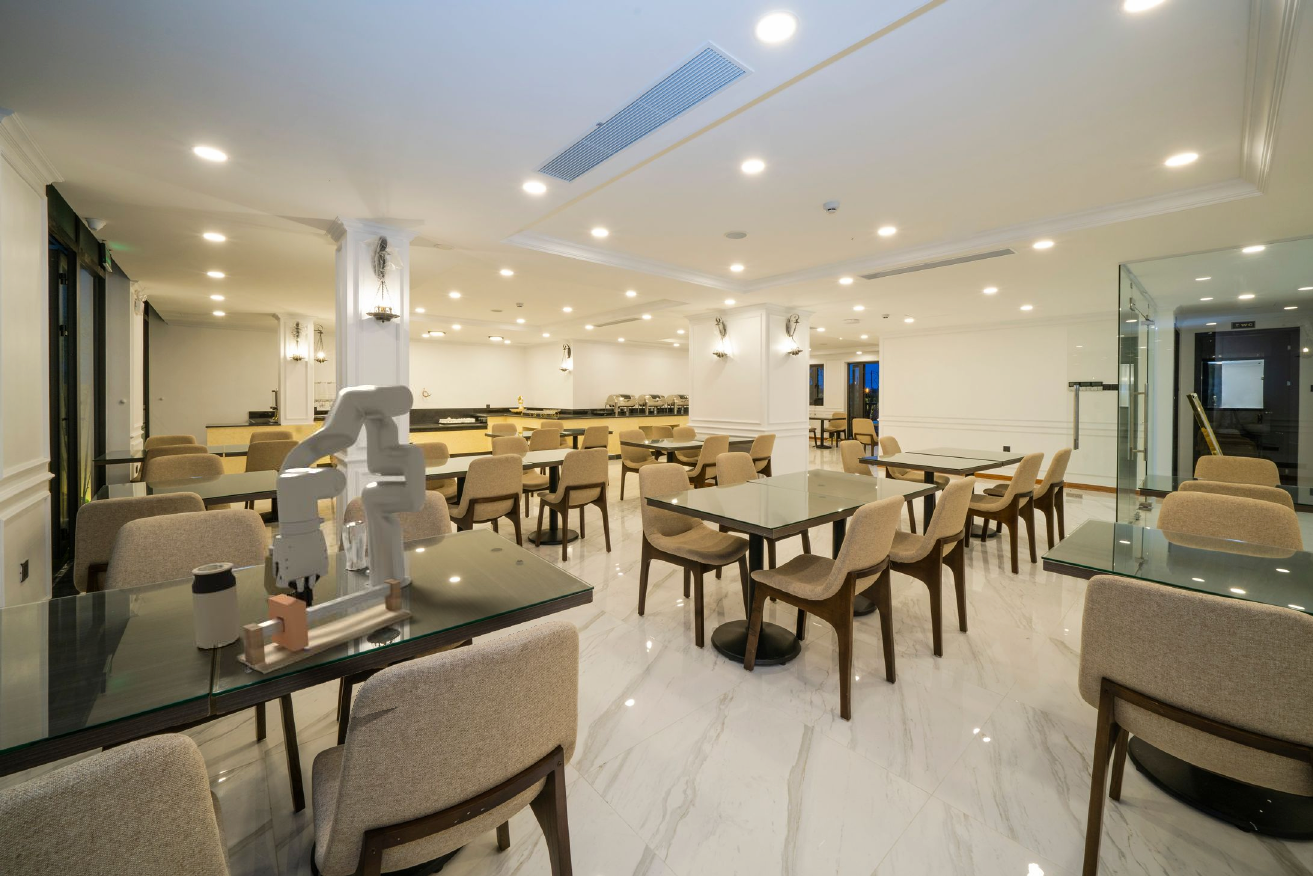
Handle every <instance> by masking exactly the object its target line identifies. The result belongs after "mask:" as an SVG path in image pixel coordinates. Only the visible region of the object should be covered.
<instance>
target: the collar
mask: <svg viewBox="0 0 1313 876" xmlns="http://www.w3.org/2000/svg"><path fill="white" fill-rule="evenodd" d="M267 601H268V602H267V604H268V615H269V617H268V618H269V621H270V620H273V619H276V618H279V617H281V618H283V619H284V625H285V631H282V632H279V633H276V634H273V635H270V641H271V642H272V643H276V644H279V645H281V646H283V647H285V648H288V649H290V650H292V651H297V650H299V649H302V648H304V647H307V646H309V642H308V630H309V629H308V623H307V613H306V609H307V608H306V602H304V601H301V600H299V599H296V598H295V597H292V596H290V595H288V596H287V595H284V594H281V595H277V596H274V597H268V598H267Z"/></svg>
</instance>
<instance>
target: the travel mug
mask: <svg viewBox="0 0 1313 876" xmlns="http://www.w3.org/2000/svg"><path fill="white" fill-rule="evenodd" d="M233 568H234V563H233V562H214V563H211V564H210V563H209V564H204V565H201V566H199V567H195V568H193V569H192V571H191V573H192V574H193V577H194V580H193V582H192V584H191V595H192V605H193V618H194V627H195V639H196V640H195V641H196V646H197V645H200V646H212V645H219V644H221V643H226V642H229V641H230V640H234V639H236V638H237V637H239V636H240V637H241V627H240V626H241V625H240V616H239V615H240V614H239V602H238V601H239V600H238V590H237V589H238V588H237V587H238V586H237V578H236V576H235V575H234V573H233V572H232V571H233Z"/></svg>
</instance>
